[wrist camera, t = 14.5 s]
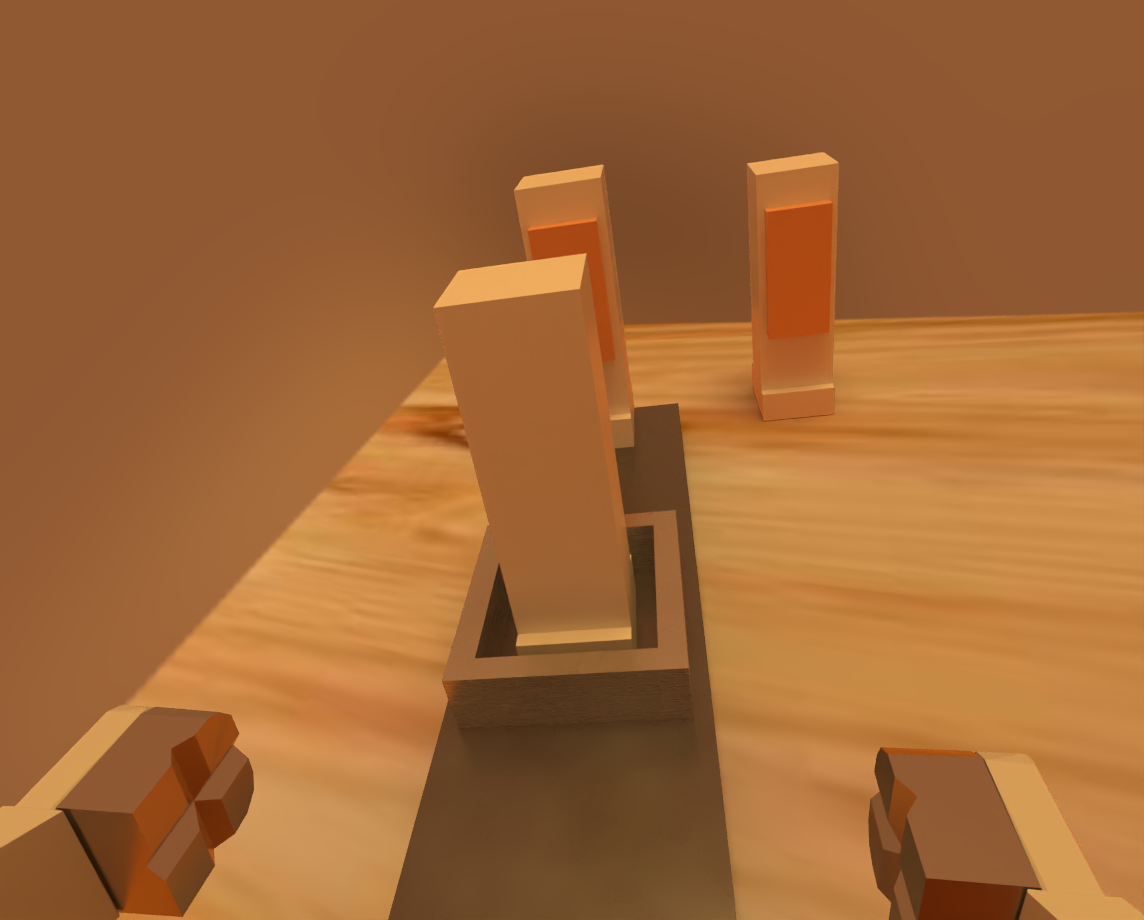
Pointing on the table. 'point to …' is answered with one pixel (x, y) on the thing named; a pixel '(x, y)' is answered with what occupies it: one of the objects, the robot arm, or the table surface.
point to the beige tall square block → (543, 449)
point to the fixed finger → (582, 225)
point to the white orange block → (793, 283)
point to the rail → (581, 744)
